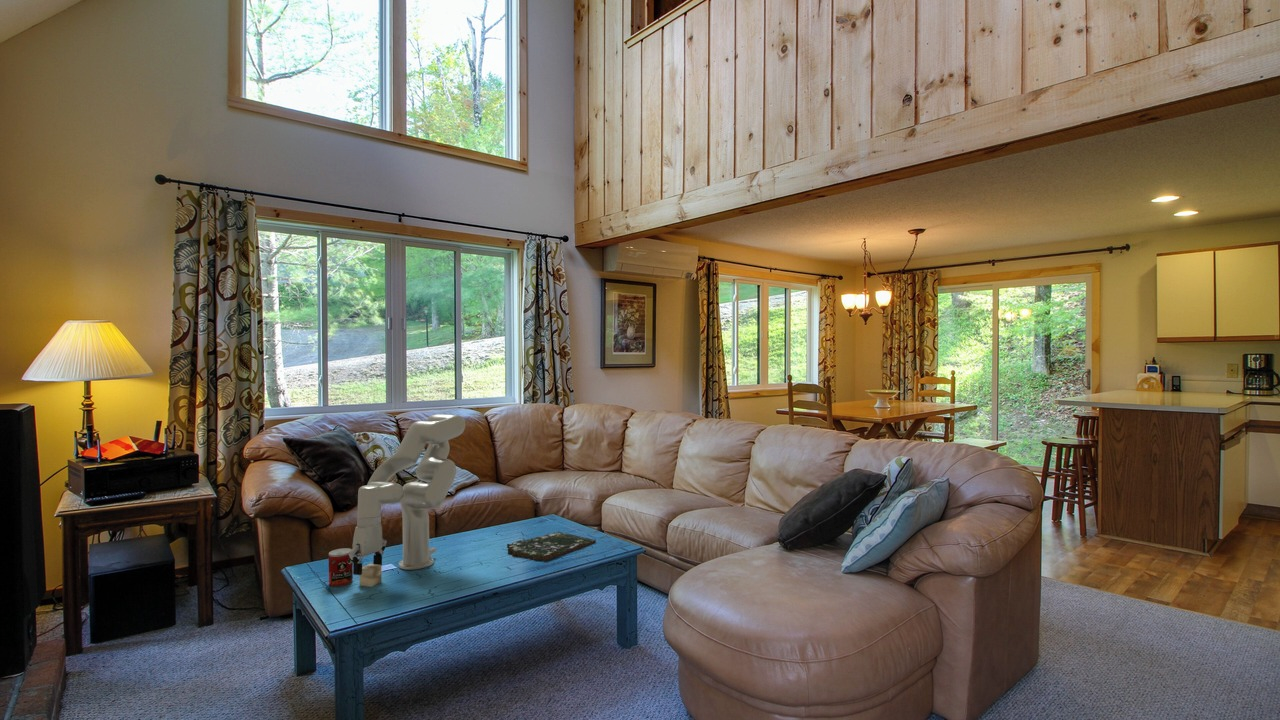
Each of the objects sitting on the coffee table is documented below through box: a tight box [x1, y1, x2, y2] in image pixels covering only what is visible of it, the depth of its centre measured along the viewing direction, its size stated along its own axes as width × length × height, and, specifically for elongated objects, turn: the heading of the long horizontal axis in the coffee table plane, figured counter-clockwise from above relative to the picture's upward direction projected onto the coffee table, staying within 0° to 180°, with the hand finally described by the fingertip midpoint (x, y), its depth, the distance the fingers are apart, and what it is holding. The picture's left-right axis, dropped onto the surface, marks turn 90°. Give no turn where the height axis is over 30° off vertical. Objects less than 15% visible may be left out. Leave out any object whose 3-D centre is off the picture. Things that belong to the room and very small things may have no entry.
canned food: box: [328, 547, 354, 587], centre depth 214 cm, size 8×8×11 cm
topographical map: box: [506, 531, 597, 563], centre depth 253 cm, size 26×33×3 cm
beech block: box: [359, 563, 382, 588], centre depth 213 cm, size 5×5×6 cm
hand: (367, 570), depth 212 cm, fingers open, 9 cm apart
